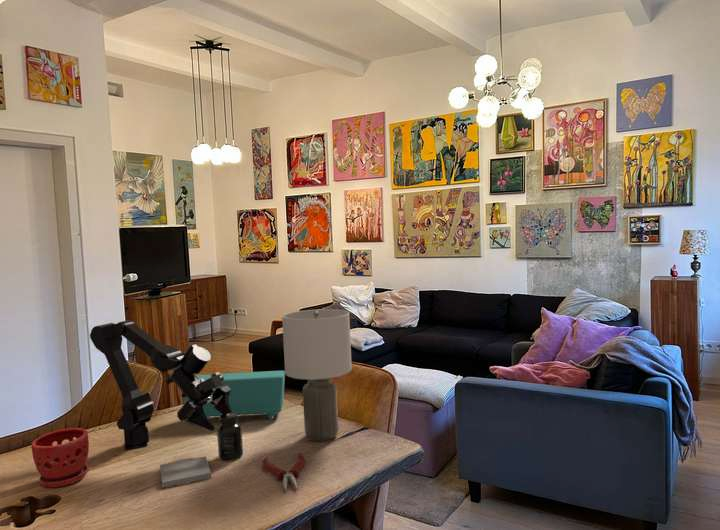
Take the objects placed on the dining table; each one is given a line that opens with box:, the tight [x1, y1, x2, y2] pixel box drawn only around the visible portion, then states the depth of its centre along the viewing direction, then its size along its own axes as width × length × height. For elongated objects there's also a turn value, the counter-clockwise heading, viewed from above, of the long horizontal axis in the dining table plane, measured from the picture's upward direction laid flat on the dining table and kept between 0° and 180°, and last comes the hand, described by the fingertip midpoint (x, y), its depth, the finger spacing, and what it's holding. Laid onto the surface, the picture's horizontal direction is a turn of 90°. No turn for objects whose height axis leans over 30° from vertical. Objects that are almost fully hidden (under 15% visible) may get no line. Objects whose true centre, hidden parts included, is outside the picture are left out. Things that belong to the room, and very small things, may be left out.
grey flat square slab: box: [159, 456, 212, 488], centre depth 146 cm, size 12×12×2 cm
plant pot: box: [31, 427, 90, 488], centre depth 146 cm, size 13×13×12 cm
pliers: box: [262, 452, 306, 493], centre depth 143 cm, size 12×20×3 cm, turn 14°
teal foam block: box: [183, 370, 286, 419], centre depth 190 cm, size 34×10×15 cm, turn 93°
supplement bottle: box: [216, 413, 244, 462], centre depth 156 cm, size 7×7×12 cm
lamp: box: [281, 308, 353, 442], centre depth 168 cm, size 20×20×39 cm
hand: (223, 424), depth 157 cm, fingers open, 9 cm apart
